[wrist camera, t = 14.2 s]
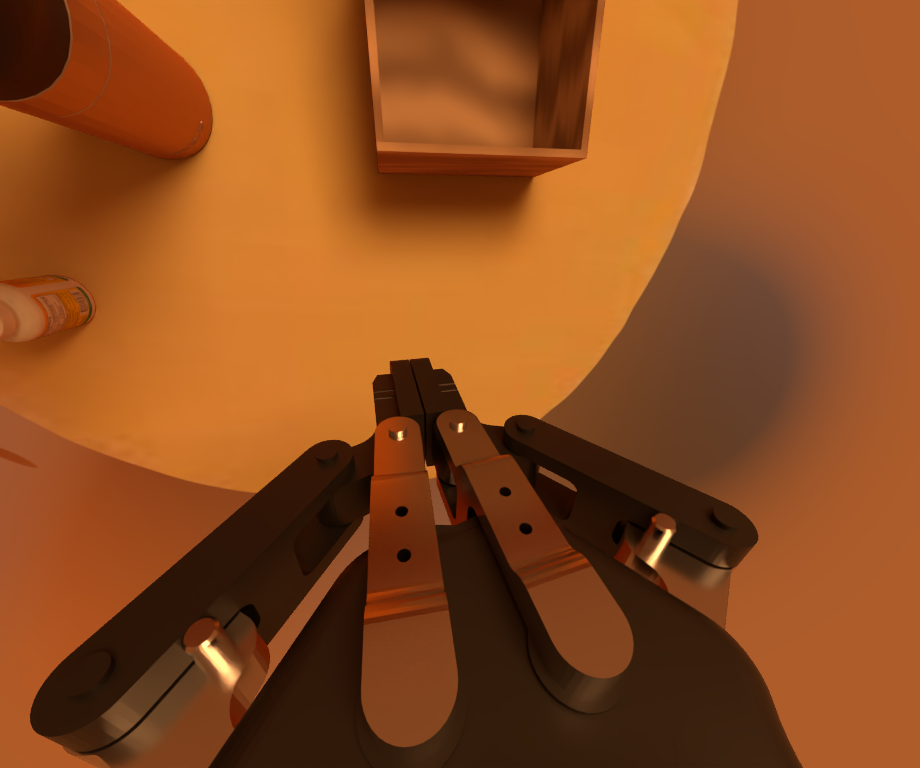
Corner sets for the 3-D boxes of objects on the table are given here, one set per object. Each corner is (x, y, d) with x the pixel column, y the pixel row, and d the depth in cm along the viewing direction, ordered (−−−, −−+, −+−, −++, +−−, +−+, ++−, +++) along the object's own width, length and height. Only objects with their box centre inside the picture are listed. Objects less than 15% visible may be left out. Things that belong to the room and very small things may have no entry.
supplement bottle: (108, 300, 38) (28, 321, 30) (80, 335, 39) (-7, 364, 30) (51, 262, 36) (-54, 272, 27) (22, 300, 37) (-89, 321, 28)
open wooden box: (533, 177, 42) (586, 158, 31) (378, 173, 38) (377, 150, 28) (546, -7, 35) (618, -112, 25) (361, -30, 32) (350, -162, 21)
